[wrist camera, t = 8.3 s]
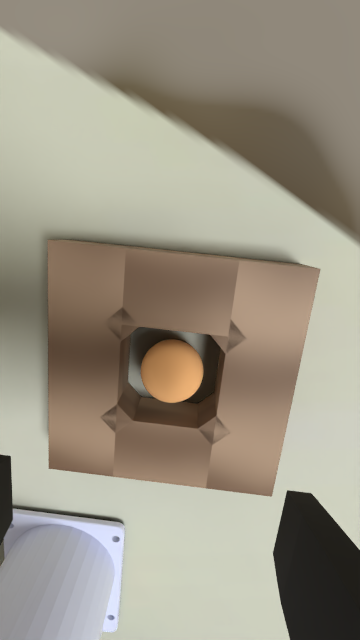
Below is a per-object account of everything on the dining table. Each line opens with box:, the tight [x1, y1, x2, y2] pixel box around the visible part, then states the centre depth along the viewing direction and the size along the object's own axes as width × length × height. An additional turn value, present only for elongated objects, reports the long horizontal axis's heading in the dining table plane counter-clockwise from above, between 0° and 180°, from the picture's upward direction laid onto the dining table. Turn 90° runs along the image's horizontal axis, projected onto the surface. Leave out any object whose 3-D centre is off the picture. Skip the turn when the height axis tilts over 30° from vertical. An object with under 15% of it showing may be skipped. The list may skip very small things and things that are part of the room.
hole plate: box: [48, 240, 320, 496], centre depth 17 cm, size 12×12×2 cm
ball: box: [141, 339, 203, 403], centre depth 16 cm, size 3×3×3 cm
